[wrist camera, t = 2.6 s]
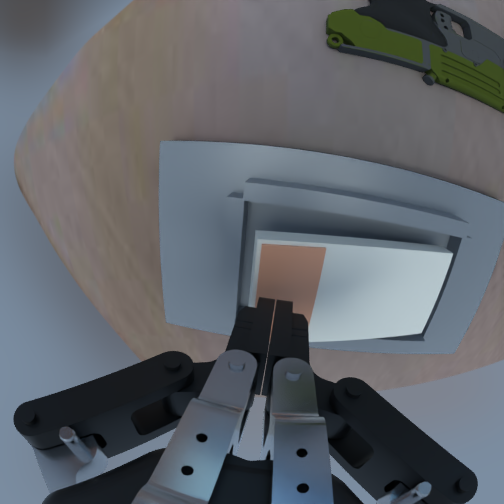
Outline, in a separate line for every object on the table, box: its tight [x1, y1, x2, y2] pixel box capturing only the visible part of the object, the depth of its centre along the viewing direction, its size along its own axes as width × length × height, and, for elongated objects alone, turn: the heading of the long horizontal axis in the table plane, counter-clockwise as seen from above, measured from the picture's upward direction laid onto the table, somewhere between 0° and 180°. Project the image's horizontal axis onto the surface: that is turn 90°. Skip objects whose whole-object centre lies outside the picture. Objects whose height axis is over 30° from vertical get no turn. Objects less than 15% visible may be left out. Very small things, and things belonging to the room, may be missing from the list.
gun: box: [326, 0, 504, 113], centre depth 10 cm, size 2×19×15 cm
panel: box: [159, 141, 504, 354], centre depth 17 cm, size 26×14×4 cm, turn 85°
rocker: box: [248, 230, 453, 342], centre depth 14 cm, size 12×6×1 cm, turn 85°
